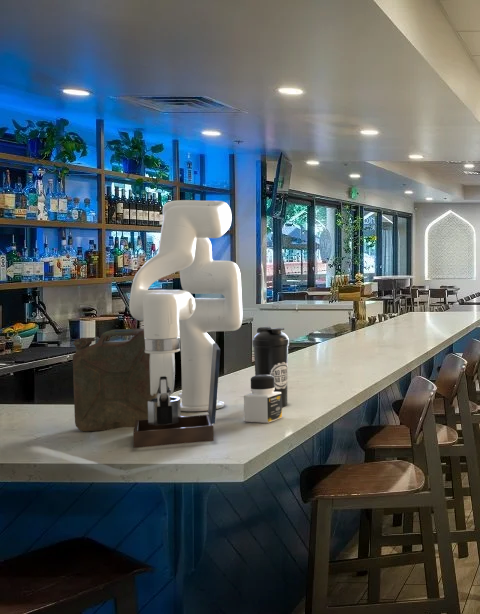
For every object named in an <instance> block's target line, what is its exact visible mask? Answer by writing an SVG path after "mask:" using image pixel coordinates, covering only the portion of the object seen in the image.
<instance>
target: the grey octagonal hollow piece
mask: <svg viewBox="0 0 480 614" xmlns="http://www.w3.org/2000/svg"><path fill="white" fill-rule="evenodd" d="M170 400H171V406H172V423H168V424H157V407H158V399H157V398H152V399H150V400H148V424H150V425H154V426H162V425H171V424H176V423H179V422H180V421H181V417H182V411H181V405H180V403H181V398H179V397H178V396H170Z"/></svg>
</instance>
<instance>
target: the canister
mask: <svg viewBox="0 0 480 614" xmlns="http://www.w3.org/2000/svg"><path fill="white" fill-rule="evenodd" d="M113 336H115V337H117V336H118V337H119V336H120V337H121V336H133V337H131V338H130V339H129V340H128V339H126V340H111V337H113ZM96 339H98V341H97V342H96V343H93V342H95V341H96ZM92 343H93V344H92ZM73 346H74V347H75V353H73V355H72V374H73V375H72V376H73V380H72V381H73V383H72V384H73V407H74V409H73V410H74V424H75V427H76V428H77V430H80V431H82V432H85V433H86V432H103V431H109V430H110V431H111V430H115V429H121V428H134V425H135V420H143V419H148V400H150V399H152V398H157V393H156V394H154V396H152V395H151V394H150V365H149V362H150V353H145V345H144V328H125V329H121V328H120V329H110V330H108V331H105V332H103V333H102V334H101V335H100V337H99V336H93V337H80V338H77V339H74V341H73Z"/></svg>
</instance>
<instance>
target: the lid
mask: <svg viewBox="0 0 480 614" xmlns="http://www.w3.org/2000/svg"><path fill="white" fill-rule="evenodd" d="M220 361H221V348H220V347H219V345H218V343H216V342H215V343H213V351H212V365H211V379H210V393H209V407H208V410H207V413H208V414H209V417H210V421H211V424H213V425H215V424H216V417H217V409H216V403H217V389H218V390H219V375H220ZM208 414H207V415H208Z"/></svg>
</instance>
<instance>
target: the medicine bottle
mask: <svg viewBox="0 0 480 614" xmlns="http://www.w3.org/2000/svg"><path fill="white" fill-rule="evenodd" d="M274 390H275V378H274V377H273V376H271V375H256V376H255V375H253V376H251V377H250V392H251V393H247V394H244V395H243V420H244V422H245V423H262V424H269V423H272V422H274V421H277V420H280V419H282V418H283V407H282V393H281V392H274Z"/></svg>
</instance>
